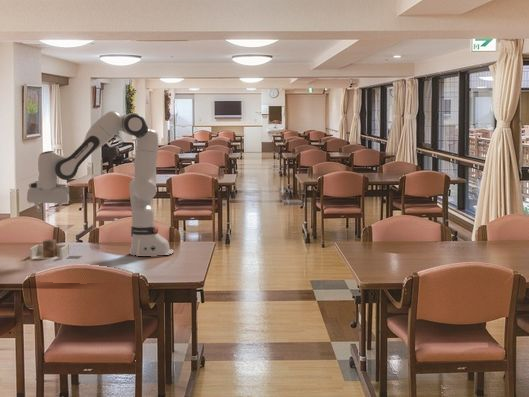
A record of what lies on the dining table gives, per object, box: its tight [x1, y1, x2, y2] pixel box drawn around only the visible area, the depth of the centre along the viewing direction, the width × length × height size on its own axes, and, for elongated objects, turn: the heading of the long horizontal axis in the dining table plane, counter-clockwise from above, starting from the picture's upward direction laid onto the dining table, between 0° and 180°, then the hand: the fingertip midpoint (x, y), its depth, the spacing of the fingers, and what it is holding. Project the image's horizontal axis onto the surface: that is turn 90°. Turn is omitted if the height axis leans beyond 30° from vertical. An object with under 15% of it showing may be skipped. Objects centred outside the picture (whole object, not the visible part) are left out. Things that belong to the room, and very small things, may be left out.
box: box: [29, 243, 70, 260], centre depth 365 cm, size 16×11×6 cm
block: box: [42, 239, 57, 257], centre depth 365 cm, size 5×5×8 cm
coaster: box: [65, 255, 83, 260], centre depth 363 cm, size 6×6×1 cm
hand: (48, 212), depth 363 cm, fingers open, 8 cm apart
